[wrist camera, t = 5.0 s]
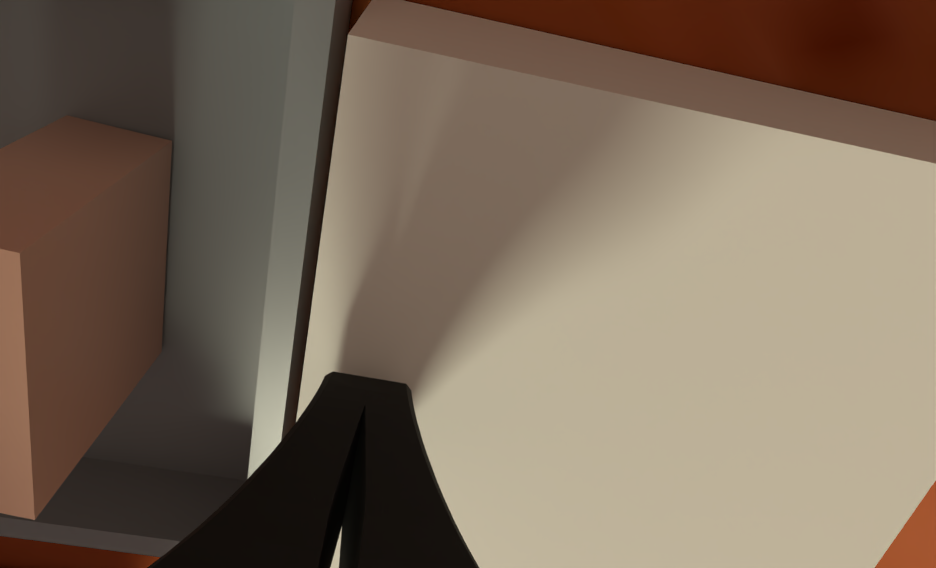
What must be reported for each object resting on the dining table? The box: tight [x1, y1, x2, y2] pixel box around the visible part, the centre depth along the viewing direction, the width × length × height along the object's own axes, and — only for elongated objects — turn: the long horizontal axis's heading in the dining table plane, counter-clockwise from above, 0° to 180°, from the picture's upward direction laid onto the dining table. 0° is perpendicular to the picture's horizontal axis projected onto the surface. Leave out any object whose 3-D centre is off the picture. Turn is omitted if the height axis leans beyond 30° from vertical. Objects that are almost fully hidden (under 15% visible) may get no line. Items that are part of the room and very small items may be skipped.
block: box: [0, 115, 172, 520], centre depth 13 cm, size 5×5×2 cm
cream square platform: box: [296, 0, 936, 568], centre depth 15 cm, size 12×12×4 cm
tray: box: [0, 0, 353, 557], centre depth 14 cm, size 11×13×2 cm
